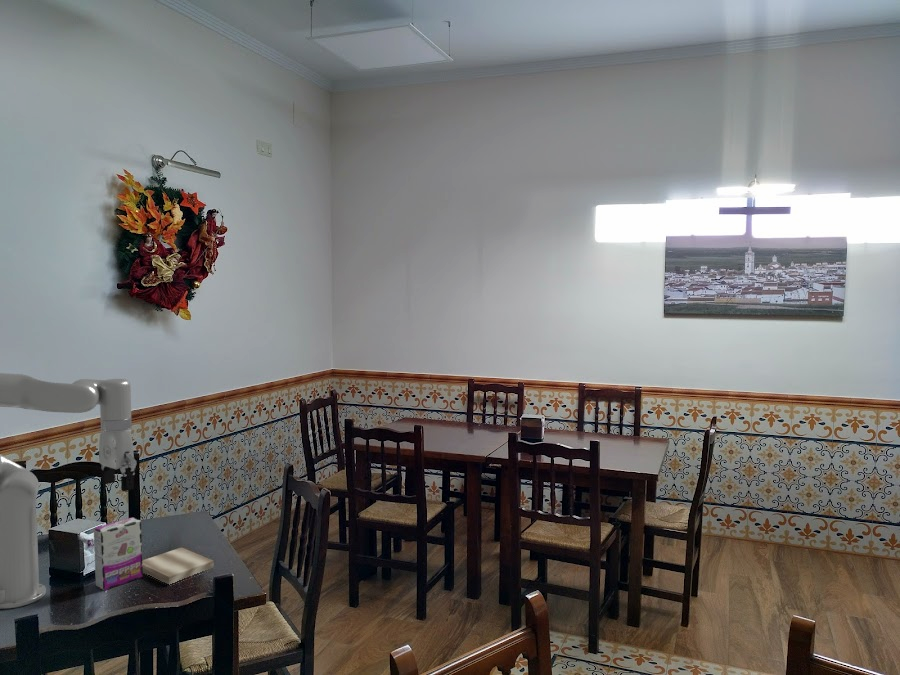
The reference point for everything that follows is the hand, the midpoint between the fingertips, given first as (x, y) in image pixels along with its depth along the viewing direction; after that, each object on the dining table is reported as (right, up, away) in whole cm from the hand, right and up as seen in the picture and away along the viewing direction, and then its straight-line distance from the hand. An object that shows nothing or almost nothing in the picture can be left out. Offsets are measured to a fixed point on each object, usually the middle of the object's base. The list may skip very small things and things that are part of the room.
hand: (118, 486), depth 186 cm
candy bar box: (-1, -27, +2) cm, 27 cm away
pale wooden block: (+12, -27, +10) cm, 31 cm away
